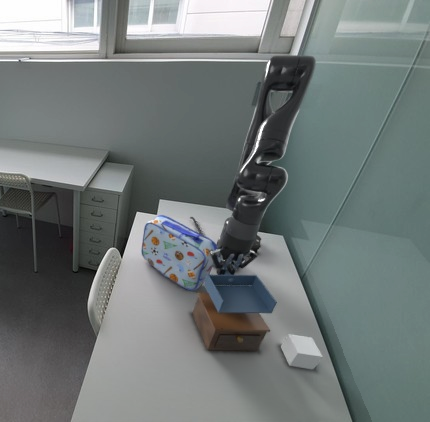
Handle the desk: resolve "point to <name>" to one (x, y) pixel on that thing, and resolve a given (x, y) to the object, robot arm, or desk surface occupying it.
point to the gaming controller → (256, 244)
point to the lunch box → (178, 252)
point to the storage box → (228, 327)
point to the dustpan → (239, 294)
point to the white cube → (301, 351)
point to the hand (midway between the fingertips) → (224, 276)
